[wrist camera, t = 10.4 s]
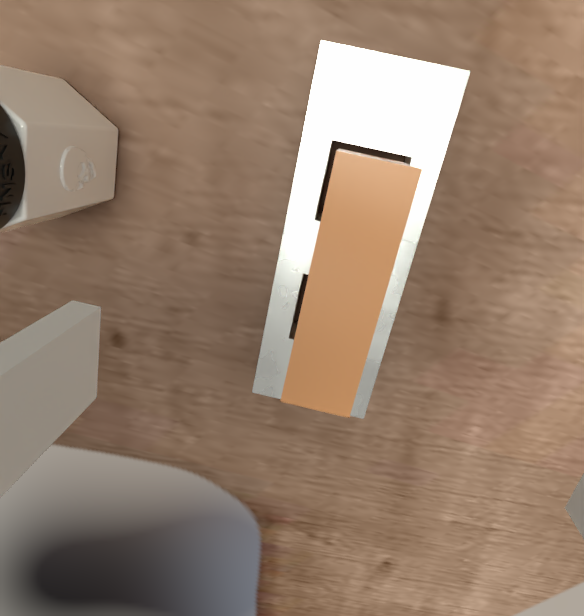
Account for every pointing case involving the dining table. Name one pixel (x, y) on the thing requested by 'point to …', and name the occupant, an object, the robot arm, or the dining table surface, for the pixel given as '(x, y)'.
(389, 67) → the grey slotted block
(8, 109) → the jar
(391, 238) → the tan notched block
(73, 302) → the robot arm
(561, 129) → the dining table surface
